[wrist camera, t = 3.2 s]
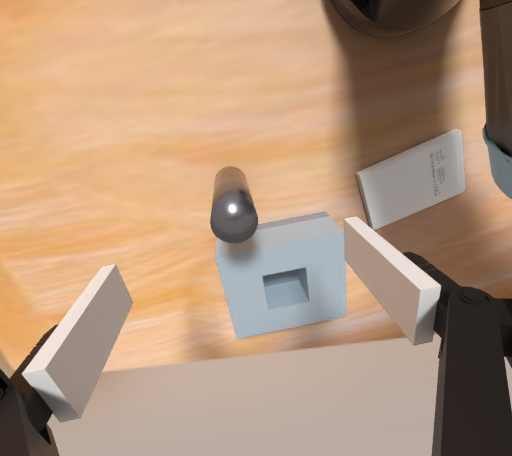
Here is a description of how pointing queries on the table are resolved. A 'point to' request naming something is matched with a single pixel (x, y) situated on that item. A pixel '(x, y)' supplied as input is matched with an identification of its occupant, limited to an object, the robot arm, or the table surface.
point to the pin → (232, 207)
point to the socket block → (284, 275)
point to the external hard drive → (413, 179)
